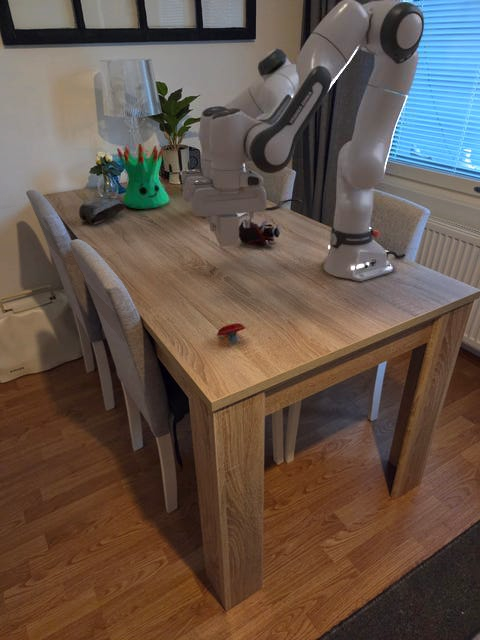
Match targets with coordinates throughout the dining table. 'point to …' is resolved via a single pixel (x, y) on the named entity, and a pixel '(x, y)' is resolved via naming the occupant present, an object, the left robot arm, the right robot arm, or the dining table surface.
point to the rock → (100, 209)
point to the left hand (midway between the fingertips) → (217, 214)
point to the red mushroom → (231, 331)
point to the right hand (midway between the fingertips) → (229, 228)
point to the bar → (226, 229)
